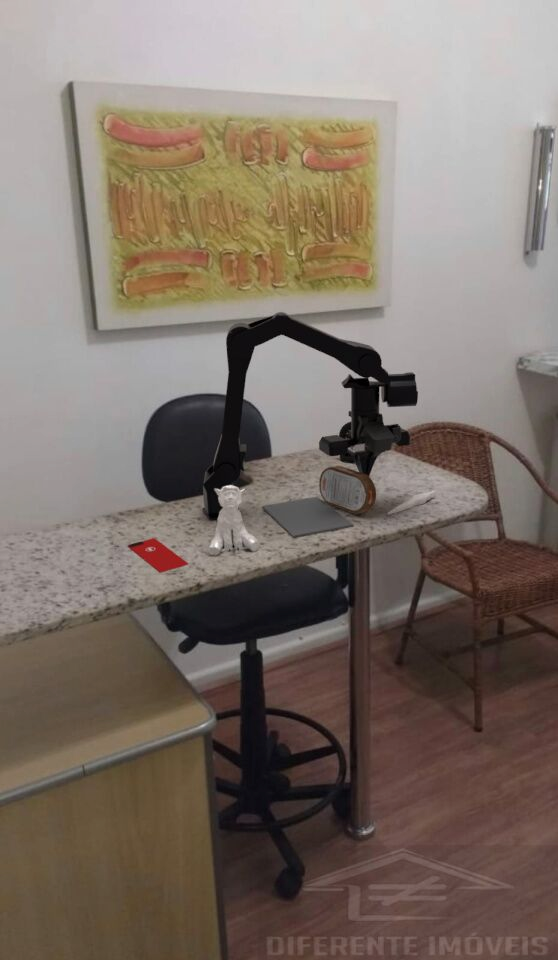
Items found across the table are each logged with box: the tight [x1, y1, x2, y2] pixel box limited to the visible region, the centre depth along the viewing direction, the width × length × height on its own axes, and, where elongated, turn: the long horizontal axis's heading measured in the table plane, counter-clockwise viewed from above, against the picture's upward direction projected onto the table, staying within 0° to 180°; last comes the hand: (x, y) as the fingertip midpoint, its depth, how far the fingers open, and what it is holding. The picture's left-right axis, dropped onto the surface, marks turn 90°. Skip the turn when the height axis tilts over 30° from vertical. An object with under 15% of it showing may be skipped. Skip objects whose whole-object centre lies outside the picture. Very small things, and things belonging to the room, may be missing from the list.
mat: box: [261, 496, 354, 538], centre depth 155 cm, size 13×18×1 cm
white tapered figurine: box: [387, 490, 436, 515], centre depth 159 cm, size 15×3×2 cm, turn 129°
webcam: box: [338, 421, 358, 464], centre depth 190 cm, size 8×8×10 cm
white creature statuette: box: [208, 485, 260, 557], centre depth 141 cm, size 10×9×12 cm
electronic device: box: [127, 537, 189, 573], centre depth 140 cm, size 6×1×15 cm
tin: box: [318, 465, 377, 514], centre depth 157 cm, size 15×3×8 cm, turn 39°
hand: (364, 479), depth 158 cm, fingers closed
